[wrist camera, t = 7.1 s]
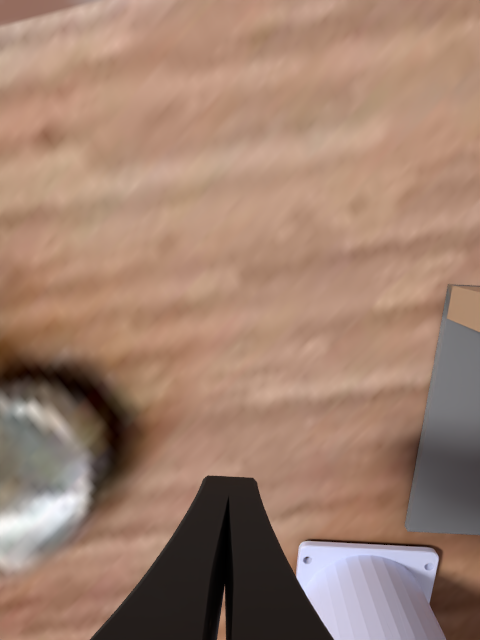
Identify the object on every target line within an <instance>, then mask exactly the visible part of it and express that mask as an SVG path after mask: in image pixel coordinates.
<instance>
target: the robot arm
mask: <svg viewBox="0 0 480 640" xmlns="http://www.w3.org/2000/svg"><path fill="white" fill-rule="evenodd" d="M305 557H309V558H305ZM438 561H439V556H438V555H437V553H436V551H435V550H434V549H433V548H429V547H412V546H394V545H375V544H356V543H337V542H318V541H304V542H302V543H301V544H300V545H299V550H298V560H297V570H296V576H295V574H294V572H293V570H292V568H291V566H290V564H289V563H288V561H287V559H286V557H285V555H284V553H283V551H282V549H281V546H280V544H279V542H278V540H277V537H276V535H275V533H274V531H273V529H272V526H271V524H270V522H269V519H268V517H267V514H266V511H265V509H264V506H263V503H262V500H261V497H260V494H259V490H258V486H257V482H256V481H255V480H254V478H245V477H226V476H207V477H205V478H204V479H203V481H202V484H201V486H200V489H199V491H198V493H197V495H196V497H195V499H194V501H193V502H192V504H191V506H190V508H189V510H188V511H187V513H186V515H185V516H184V518H183V520H182V521H181V523H180V524H179V526H178V528H177V529H176V531H175V533H174V534H173V536H172V537H171V539H170V540H169V542H168V543H167V545H166V546H165V547H164V549H163V550H162V552H161V553H160V555H159V556H158V557H157V559H156V560H155V562H154V563H153V564H152V566H151V567H150V569H149V570H148V571H147V573H146V574H145V575H144V577H143V578H142V579H141V580H140V582H139V583H138V584H137V586H136V587H135V588H134V589H133V591H132V592H131V593H130V594H129V595H128V597H127V598H126V599H125V600H124V601H123V603H122V604H121V605H120V606H119V607H118V609H117V610H116V611H115V612H114V613H113V614H112V615H111V617H110V618H109V619H108V620H107V621H106V622H105V623H104V624H103V625H102V627H101V628H100V629H99V630H98V631H97V632H96V633H95V634H94V636H93V637H92V638H91V639H90V640H217V635H218V628H219V621H220V614H221V607H222V600H223V593H224V586H225V609H226V640H446V637H445V635H444V633H443V631H442V629H441V627H440V625H439V623H438V621H437V619H436V617H435V615H434V613H433V611H432V609H431V607H430V605H429V603H430V599H431V594H432V589H433V585H434V580H435V575H436V570H437V566H438ZM427 563H428V564H427Z"/></svg>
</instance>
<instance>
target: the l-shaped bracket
mask: <svg viewBox="0 0 480 640" xmlns="http://www.w3.org/2000/svg"><path fill="white" fill-rule="evenodd" d="M405 527H406V529H407V531H412V532H431V533H450V534H469V535H480V286H470V285H448V288H447V294H446V299H445V305H444V310H443V316H442V321H441V327H440V332H439V338H438V343H437V349H436V355H435V360H434V366H433V371H432V377H431V382H430V388H429V393H428V399H427V405H426V410H425V416H424V421H423V427H422V432H421V438H420V443H419V449H418V454H417V460H416V466H415V471H414V477H413V482H412V488H411V493H410V499H409V504H408V510H407V516H406V521H405Z"/></svg>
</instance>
